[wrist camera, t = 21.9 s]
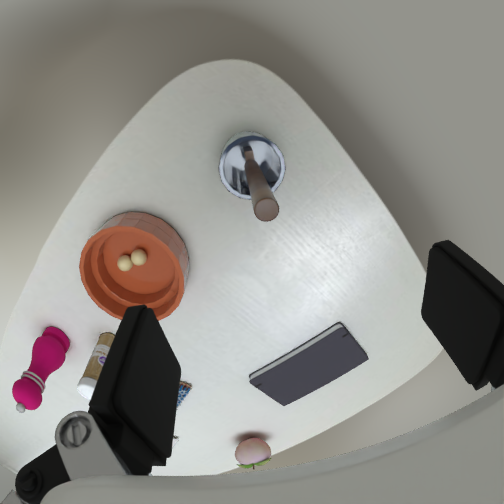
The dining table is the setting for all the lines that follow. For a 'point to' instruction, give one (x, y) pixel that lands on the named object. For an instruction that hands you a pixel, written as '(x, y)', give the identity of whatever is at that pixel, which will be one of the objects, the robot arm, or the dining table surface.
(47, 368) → the pepper mill
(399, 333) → the dining table surface
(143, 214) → the bowl
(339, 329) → the notebook
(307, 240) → the dining table surface
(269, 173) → the crock
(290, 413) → the dining table surface
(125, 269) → the dough ball
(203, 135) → the dining table surface
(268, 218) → the brown long handled piece
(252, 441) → the decorative fruit
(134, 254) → the dough ball
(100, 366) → the sprinkles bottle
